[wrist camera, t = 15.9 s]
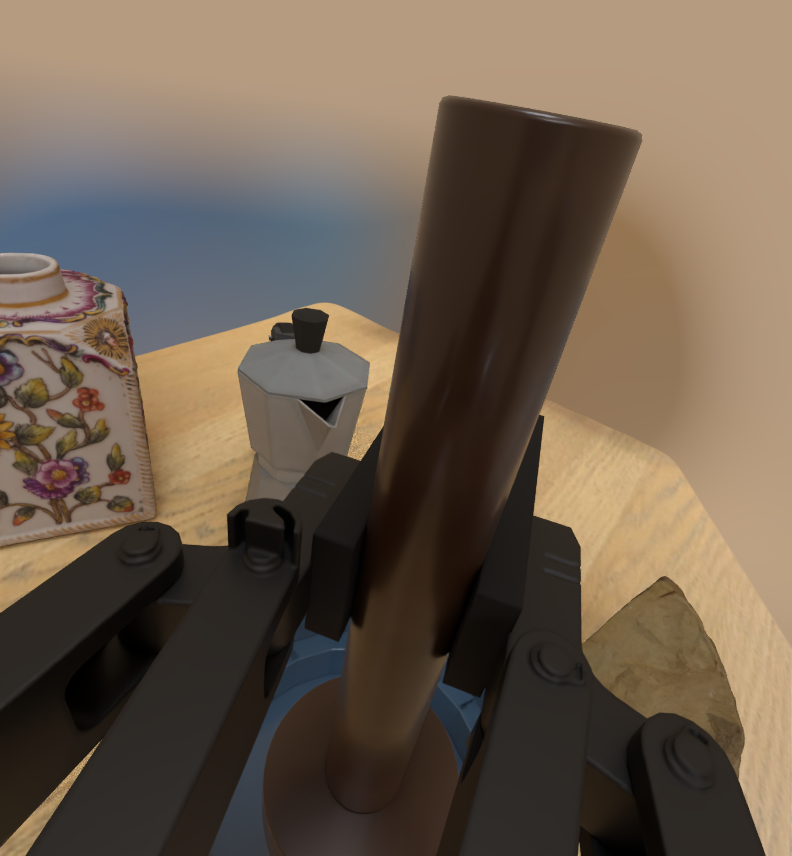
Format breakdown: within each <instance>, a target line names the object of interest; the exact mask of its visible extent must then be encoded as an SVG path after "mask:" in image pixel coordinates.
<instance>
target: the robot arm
mask: <svg viewBox="0 0 792 856" xmlns="http://www.w3.org/2000/svg"><path fill="white" fill-rule="evenodd" d="M543 423H544V416H542V415H539V417H538V419H537V422H536V425H535V427H534V430H533V433H532V435H531V438H530V441H529V443H528V446H527V449H526V451H525V454H524V457H523V459H522V462H521V465H520V467H519V470H518V473H517V475H516V478H515V481H514V483H513V486H512V489H511V491H510V494H509V496H508V499H507V502H506V504H505V507H504V510H503V512H502V515H501V518H500V520H499V523H498V526H497V528H496V531H495V534H494V536H493V539H492V542H491V544H490V547H489V550H488V552H487V555H486V558H485V560H484V562H483V564H482V567H481V570H480V572H479V575H478V578H477V580H476V583H475V586H474V588H473V591H472V594H471V596H470V599H469V602H468V604H467V607H466V610H465V612H464V615H463V618H462V620H461V623H460V626H459V628H458V631H457V634H456V636H455V639H454V642H453V644H452V647H451V650H450V653H449V657H448V661H447V665H446V669H445V673H444V677H443V681H442V683H443V684H446V685H449V686H451V687H454V688H456V689H459V690H461V691H464V692H466V693H469V694H471V695H474V696H476V697H479V698H480V697H481V695H482V693H483V691H484V689H485V694H484V700H483V706H482V711H481V713H480V715H479V717H478V719H477V721H476V723H475V725H474V727H473V729H472V731H471V733H470V735H469V737H468V739H467V741H466V743H465V745H466V746H468V749H467V752H466V755H465V759H464V762H463V766H462V769H461V772H460V776H459V779H458V783H457V786H456V789H455V793H454V796H453V800H452V803H451V807H450V810H449V813H448V817H447V820H446V824H445V827H444V830H443V834H442V837H441V841H440V844H439V847H438V851H437V854H436V856H578V846H579V843H580V852H581V856H766V855H765V852H764V849H763V847H762V844H761V841H760V838H759V836H758V833H757V830H756V827H755V824H754V822H753V819H752V816H751V813H750V811H749V808H748V805H747V802H746V800H745V797H744V794H743V791H742V788H741V786H740V783H739V780H738V777H737V775H736V772H735V770H734V768H733V766H732V764H731V762H730V760H729V759H728V757H727V755H726V753H725V751H724V750H723V749H722V748H721V747H720V745H719V744H718V743H717V742H716V741H715V740H714V738H713V737H712V736H711V735H710V734H709V733H708V732H706V731H705V730H704V729H702V728H701V727H700V726H698V725H697V724H696V723H695V722H693V721H691V720H689V719H687V718H684V717H682V716H680V715H678V714H675V713H661V712H659V713H657V714H655V715H653V716H651V717H649V718H646V717H645V716H643V715H642V714H641V713H639V712H638V711H636V710H635V709H633V708H632V707H630V706H629V705H628V704H626V703H625V702H623V701H622V700H620V699H619V698H617V697H616V696H615V695H614V694H612V693H611V692H610V691H609V690H608V689H606V688H605V687H604V686H603V685H602V684H601V682H600V681H599V680H598V679H597V678H596V677H595V675H594V674H593V672H592V669H591V667H590V665H589V663H588V661H587V659H586V657H585V655H584V654H583V649H582V643H581V585H580V582H581V569H580V566H581V550H580V545H579V543H578V541H577V539H576V537H575V535H574V533H573V531H572V529H571V528H570V527H567V526H564V525H561V524H558V523H555V522H552V521H549V520H546V519H542V518H539V517H536V516H533V512H534V503H535V494H536V485H537V476H538V468H539V459H540V450H541V441H542V432H543ZM383 428H384V426H383ZM383 428H382V429H381V431H380V432H379V434H378V435H377V437H376V438H375V440H374V442H373V443H372V445H371V446H370V448H369V449H368V451H367V452H366V454H365V455H364V457H363V458H362V460H361V461H359V460H356V459H353V458H350V457H347V456H344V455H341V454H338V453H335V452H331V453H329V454H327V455H325V456H323V457H321V458H319V459H317V460H315V461H314V463H313V464H312V465H311V466H310V468H309V469H308V470H307V471H306V473H305V474H304V477H302V478H301V479H300V480H299V481H298V483H297V484H296V486H295V488H293V489H292V490H291V492H290V493H289V494H288V495H287V497H286V498H285V499H284V500H283V501H281V500H279V499H270V498H260V499H253V500H248V501H246V502H244V503H242V504H239V505H237V506H236V507H235V508H234V509H233V510H231V511H230V512H229V513H228V514H227V524H228V546H201V545H187V544H182V542H181V539H180V535H179V533H178V532H177V531H176V530H174V529H173V528H172V527H171V526H169V525H166V524H162V523H159V522H141V523H137V524H133V525H129V526H126V527H124V528H122V529H120V530H118V531H116V532H115V533H113V534H111V535H110V536H108V537H107V538H106V539H104V540H103V541H101V542H100V543H99V544H97V545H96V546H94V547H93V548H92V549H90V550H89V551H87V552H86V553H85V554H83V555H82V556H80V557H79V558H77V559H76V560H75V561H73V562H72V563H70V564H69V565H68V566H66V567H65V568H63V569H62V570H61V571H59V572H58V573H56V574H55V575H53V576H52V577H51V578H49V579H48V580H46V581H45V582H44V583H42V584H41V585H39V586H38V587H37V588H35V589H34V590H32V591H31V592H29V593H28V594H27V595H25V596H24V597H22V598H21V599H20V600H18V601H17V602H15V603H14V604H13V605H11V606H10V607H8V608H7V609H5V610H4V611H3V612H1V613H0V847H1V846H2V845H3V844H4V843H5V842H6V841H7V840H8V839H9V838H10V837H11V836H12V834H13V833H14V832H15V831H16V830H17V829H18V828H19V827H20V826H21V825H22V824H23V823H24V822H25V821H26V820H27V818H28V817H29V816H30V815H31V814H32V813H33V812H34V811H35V810H36V809H37V808H38V807H39V806H40V805H41V804H42V802H43V801H44V800H45V799H46V798H47V797H48V796H49V795H50V794H51V793H52V792H53V791H54V790H55V789H56V788H57V786H58V785H59V784H60V783H61V782H62V781H63V780H64V779H65V778H66V777H67V776H68V775H69V774H70V773H71V772H72V771H73V769H74V768H75V767H76V766H77V765H78V764H79V763H80V762H81V761H82V760H83V759H84V758H85V757H86V756H87V755H88V753H89V752H90V751H91V750H92V749H93V748H94V747H95V746H96V745H97V744H98V743H99V742H100V741H101V742H100V743H99V745H98V747H97V748H96V750H95V751H94V753H93V754H92V756H91V757H90V759H89V760H88V762H87V763H86V765H85V766H84V768H83V769H82V771H81V772H80V774H79V775H78V777H77V778H76V780H75V781H74V783H73V784H72V786H71V787H70V789H69V791H68V792H67V794H66V795H65V797H64V798H63V800H62V801H61V803H60V804H59V806H58V807H57V809H56V810H55V812H54V813H53V815H52V816H51V818H50V819H49V821H48V822H47V824H46V825H45V827H44V828H43V830H42V831H41V833H40V835H39V836H38V838H37V839H36V841H35V842H34V844H33V845H32V847H31V848H30V850H29V851H28V853H27V854H26V856H208V855H209V853H210V851H211V848H212V846H213V843H214V841H215V838H216V836H217V833H218V831H219V829H220V826H221V824H222V821H223V819H224V816H225V814H226V812H227V809H228V807H229V804H230V802H231V799H232V797H233V794H234V792H235V790H236V787H237V785H238V782H239V780H240V777H241V775H242V773H243V770H244V768H245V765H246V763H247V760H248V758H249V756H250V753H251V751H252V748H253V746H254V743H255V741H256V738H257V736H258V734H259V731H260V729H261V726H262V724H263V721H264V719H265V717H266V714H267V712H268V709H269V707H270V704H271V702H272V699H273V697H274V695H275V692H276V690H277V687H278V685H279V682H280V680H281V678H282V675H283V673H284V670H285V668H286V665H287V663H288V660H289V658H290V656H291V653H292V650H293V645H294V639H295V633H296V631H297V629H298V627H299V626H300V624H301V622H302V620H303V618H304V617H305V615H306V617H305V628H304V629H307V630H309V631H312V632H314V633H317V634H319V635H322V636H324V637H327V638H329V639H332V640H334V641H337V642H339V641H340V639H341V637H342V634H343V632H344V630H345V628H346V626H347V624H348V622H349V619H350V617H351V614H352V608H353V603H354V597H355V591H356V585H357V579H358V574H359V568H360V562H361V556H362V550H363V545H364V539H365V533H366V527H367V521H368V515H369V510H370V504H371V498H372V492H373V486H374V481H375V475H376V469H377V463H378V457H379V452H380V446H381V440H382V434H383ZM485 687H486V688H485Z"/></svg>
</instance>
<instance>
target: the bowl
mask: <svg viewBox="0 0 792 856" xmlns="http://www.w3.org/2000/svg"><path fill="white" fill-rule="evenodd" d="M305 617H306V615H305ZM305 617H304V618H303V620H302V622H301V624H300V626H299V627H298V629H297V631H296V633H295V639H294V645H293V650H292V653H291V656H290V658H289V660H288V663H287V665H286V668H285V670H284V673H283V675H282V678H281V680H280V682H279V685H278V687H277V690H276V692H275V695H274V697H273V699H272V702H271V704H270V707H269V709H268V712H267V714H266V717H265V719H264V721H263V724H262V726H261V729H260V731H259V734H258V736H257V738H256V741H255V743H254V746H253V748H252V751H251V753H250V756H249V758H248V760H247V763H246V765H245V768H244V770H243V773H242V775H241V777H240V780H239V782H238V785H237V787H236V790H235V792H234V794H233V797H232V799H231V802H230V804H229V807H228V809H227V812H226V814H225V816H224V819H223V821H222V824H221V826H220V829H219V831H218V833H217V836H216V838H215V841H214V843H213V846H212V848H211V851H210V853H209V855H208V856H270V854H269V851H268V847H267V844H266V840H265V835H264V829H263V816H262V797H263V773H264V767H265V761H266V756H267V753H268V750H269V746H270V743H271V741H272V738H273V736H274V734H275V732H276V730H277V728H278V726H279V724H280V723H281V721H282V719H283V718H284V716H285V715H286V714H287V712H288V711H289V710H290V708H291V707H292V706H293V705H294V704H295V703H296V702H297V701H298V700H299V699H300V698H301V697H303V696H304V695H305V694H306V693H307V692H309V691H310V690H312V689H313V688H315V687H316V686H318V685H320V684H322V683H324V682H326V681H328V680H331V679H334V678H337V677H341V672H342V667H343V661H344V655H345V649H346V643H347V637H348V632H349V626H350V620H351V617H350V619H349V622H348V624H347V626H346V628H345V630H344V632H343V634H342V637H341V639H340V641H339V642H337V641H334V640H332V639H329V638H327V637H324V636H322V635H319V634H317V633H314V632H312V631H309V630H307V629H304V628H305ZM448 657H449V656H448ZM447 661H448V659H447ZM447 661H446V664H445V667H444V669H443V672H442V675H441V677H440V680H439V683H438V685H437V688H436V691H435V693H434V696H433V699H432V701H431V704H430V707H431V708H432V710H433V711H434V712H435V714H436V715H437V716H438V718H439V719H440V721H441V723H442V724H443V726H444V727H445V730H446V732H447V734H448V736H449V738H450V740H451V743H452V746H453V749H454V752H455V756H456V761H457V765H458V773H459V776H460V772H461V769H462V766H463V762H464V759H465V755H466V752H467V749H468V746H466V745H465V743H466V741H467V739H468V737H469V735H470V733H471V731H472V729H473V727H474V725H475V723H476V721H477V719H478V717H479V715H480V713H481V711H482V706H483V700H484V694H485V689H484V691H483V693H482V695H481V697H480V698H479V697H476V696H474V695H471V694H469V693H466V692H464V691H461V690H459V689H456V688H454V687H451V686H449V685H446V684H443V683H442V681H443V677H444V673H445V669H446V665H447ZM485 688H486V687H485Z"/></svg>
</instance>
